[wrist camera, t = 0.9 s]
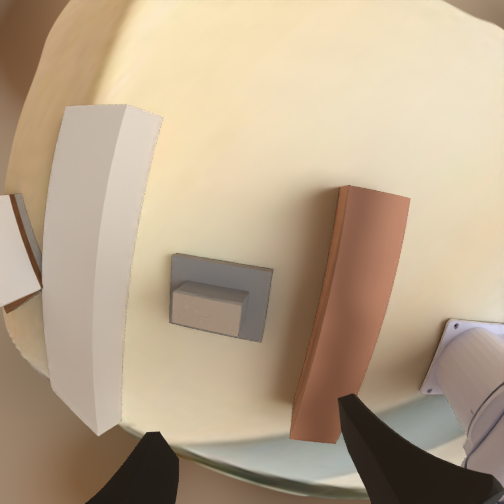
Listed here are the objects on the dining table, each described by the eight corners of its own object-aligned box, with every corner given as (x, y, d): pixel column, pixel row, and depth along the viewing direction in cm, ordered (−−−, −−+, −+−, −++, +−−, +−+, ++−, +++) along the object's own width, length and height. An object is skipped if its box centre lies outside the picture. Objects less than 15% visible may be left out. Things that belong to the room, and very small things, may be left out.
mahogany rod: (388, 196, 21) (410, 198, 16) (332, 408, 25) (335, 443, 21) (339, 186, 22) (349, 185, 17) (292, 403, 26) (289, 438, 21)
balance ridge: (273, 269, 23) (267, 284, 20) (262, 336, 25) (255, 361, 21) (177, 253, 24) (155, 264, 21) (173, 318, 26) (154, 337, 22)
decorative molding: (77, 376, 34) (125, 418, 31) (51, 388, 30) (98, 436, 26) (101, 114, 26) (167, 118, 23) (66, 106, 22) (127, 104, 18)
